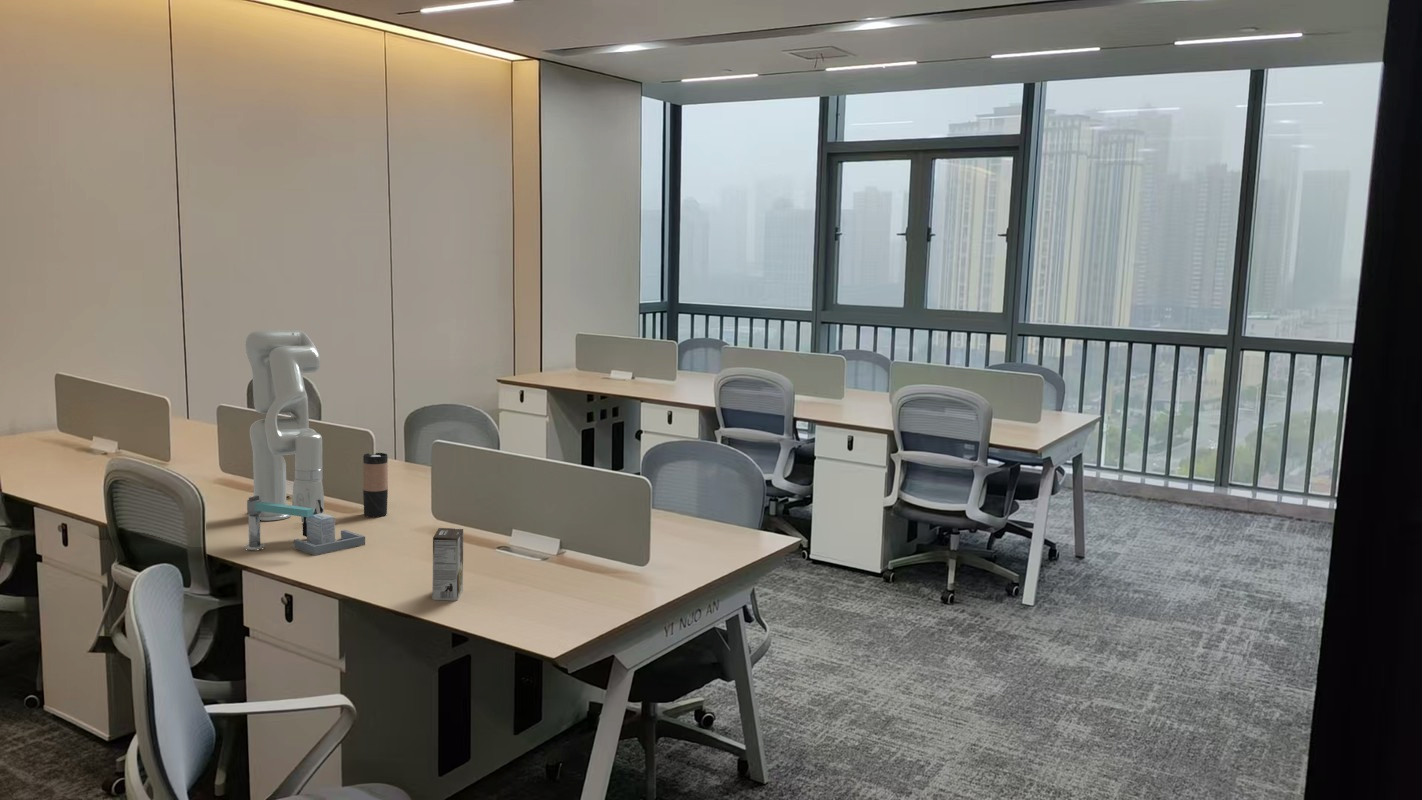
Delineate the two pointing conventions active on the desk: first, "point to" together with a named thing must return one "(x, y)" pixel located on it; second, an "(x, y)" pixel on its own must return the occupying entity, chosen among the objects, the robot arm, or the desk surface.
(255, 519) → the post
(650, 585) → the desk surface
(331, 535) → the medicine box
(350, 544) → the bay
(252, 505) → the bar
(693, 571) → the desk surface
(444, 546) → the coffee box
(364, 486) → the travel mug
